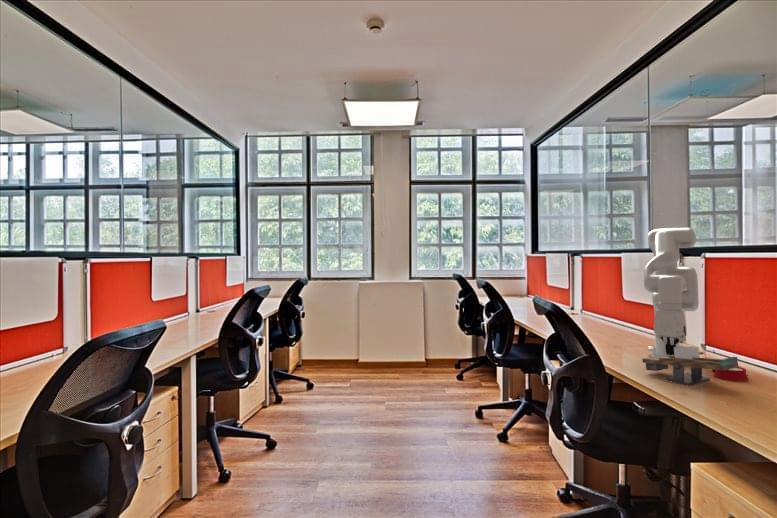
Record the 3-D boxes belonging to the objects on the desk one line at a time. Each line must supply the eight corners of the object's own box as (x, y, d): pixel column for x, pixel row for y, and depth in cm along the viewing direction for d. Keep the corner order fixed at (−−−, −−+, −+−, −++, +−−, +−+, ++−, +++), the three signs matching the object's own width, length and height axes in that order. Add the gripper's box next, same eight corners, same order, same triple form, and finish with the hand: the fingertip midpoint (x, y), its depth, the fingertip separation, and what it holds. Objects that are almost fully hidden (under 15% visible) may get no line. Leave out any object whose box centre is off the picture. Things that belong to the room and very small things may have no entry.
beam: (643, 370, 168) (641, 353, 169) (658, 366, 173) (656, 350, 174) (725, 379, 144) (722, 360, 144) (739, 375, 148) (737, 356, 149)
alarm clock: (719, 371, 158) (707, 354, 171) (718, 386, 159) (706, 368, 173) (754, 374, 154) (739, 356, 167) (752, 389, 155) (738, 371, 168)
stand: (665, 380, 159) (664, 362, 159) (687, 375, 166) (686, 357, 166) (688, 386, 152) (688, 367, 152) (710, 380, 159) (710, 361, 159)
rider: (675, 360, 160) (673, 347, 161) (682, 359, 162) (680, 345, 163) (692, 362, 155) (690, 348, 155) (699, 360, 157) (698, 346, 158)
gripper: (644, 306, 169) (645, 352, 169) (685, 309, 156) (686, 359, 155) (656, 305, 172) (656, 350, 172) (696, 308, 159) (697, 357, 159)
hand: (670, 354), depth 164 cm, fingers closed
